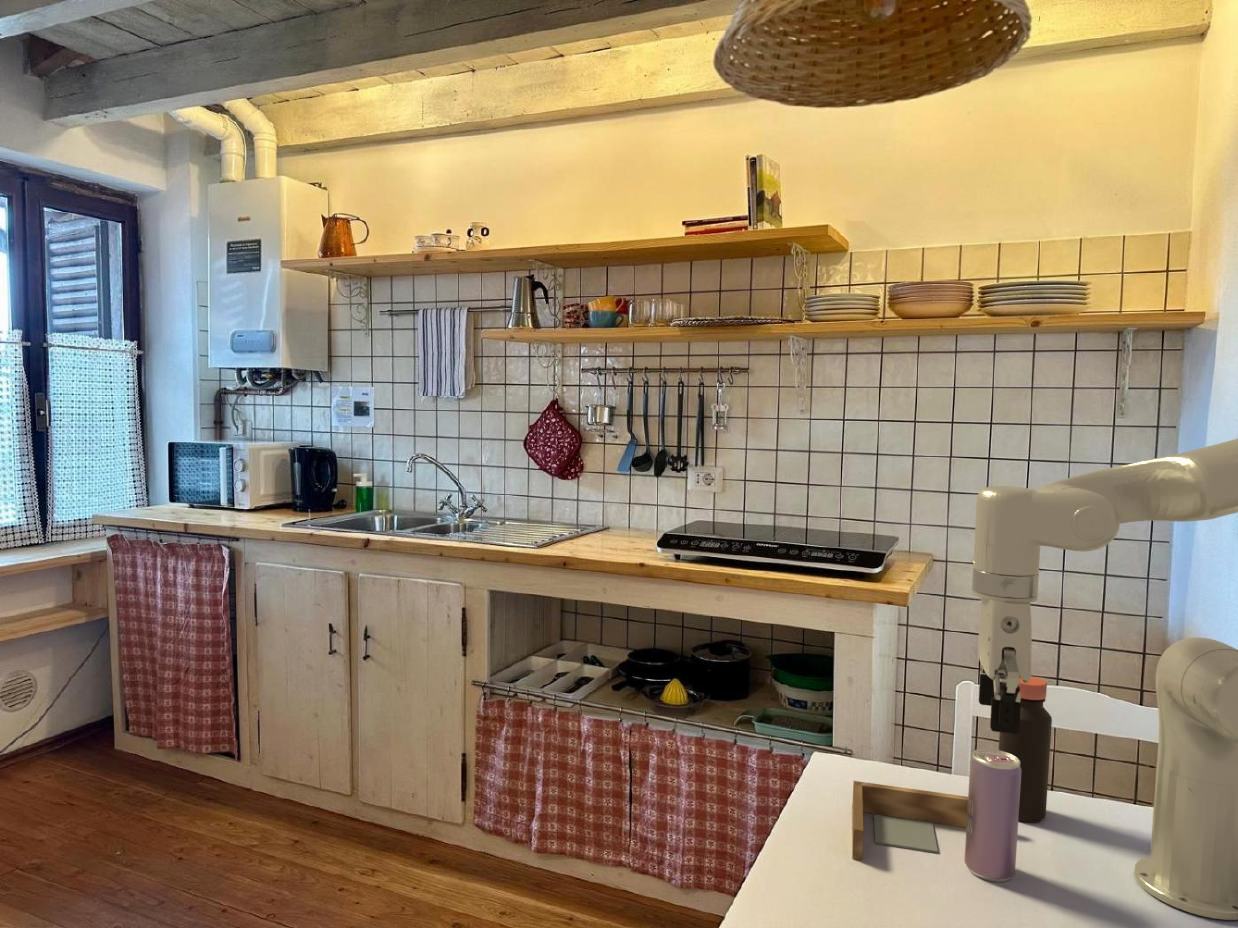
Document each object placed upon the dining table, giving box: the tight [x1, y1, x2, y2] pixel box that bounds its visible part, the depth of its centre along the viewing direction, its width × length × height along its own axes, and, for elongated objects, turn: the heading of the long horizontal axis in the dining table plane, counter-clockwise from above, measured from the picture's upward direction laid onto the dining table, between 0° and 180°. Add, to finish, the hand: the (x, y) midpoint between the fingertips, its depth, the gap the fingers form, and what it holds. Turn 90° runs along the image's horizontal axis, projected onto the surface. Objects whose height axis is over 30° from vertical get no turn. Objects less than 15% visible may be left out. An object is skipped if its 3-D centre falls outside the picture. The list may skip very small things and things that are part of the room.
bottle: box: [998, 675, 1053, 823], centre depth 124 cm, size 7×7×20 cm
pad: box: [873, 814, 939, 854], centre depth 117 cm, size 8×8×1 cm
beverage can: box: [964, 748, 1021, 883], centre depth 108 cm, size 6×6×15 cm
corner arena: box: [851, 780, 968, 861], centre depth 115 cm, size 20×15×4 cm
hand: (997, 717), depth 107 cm, fingers open, 9 cm apart
